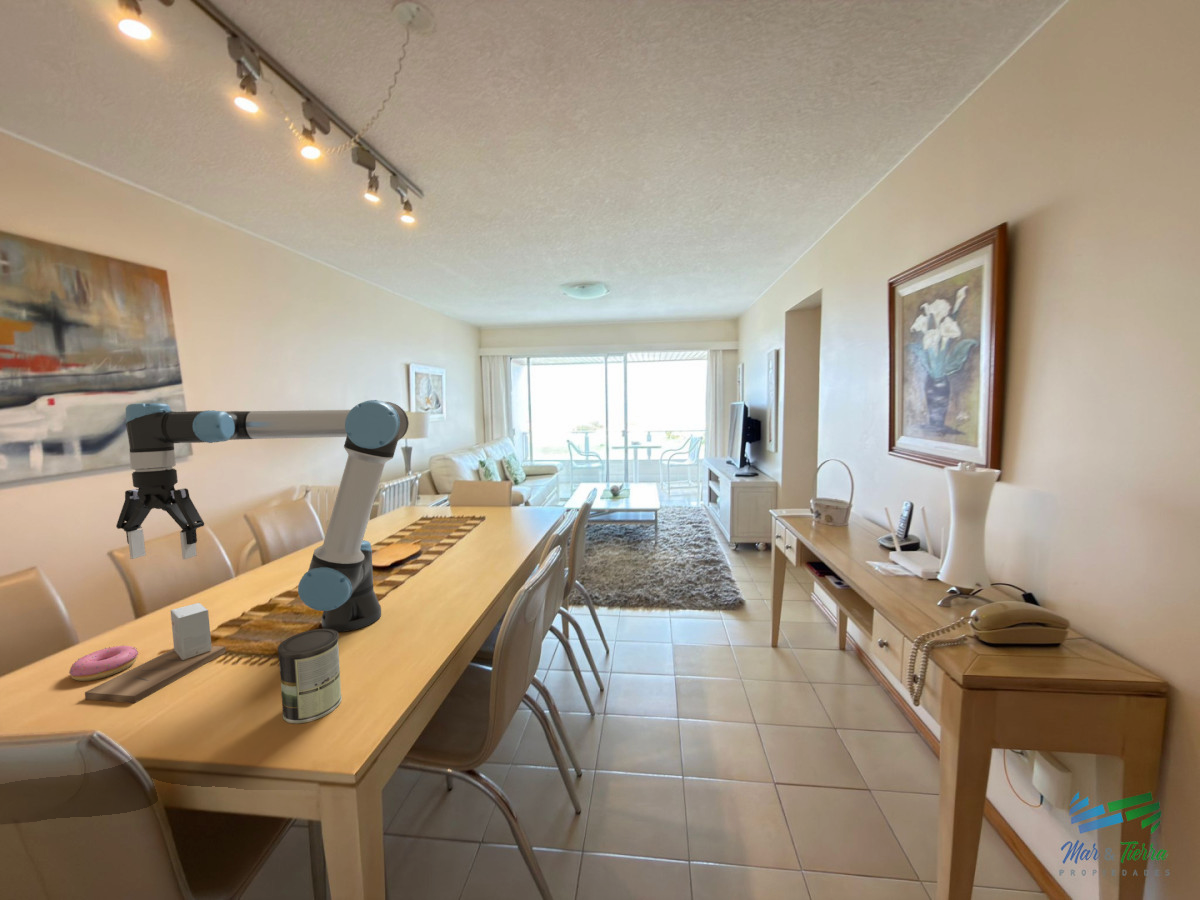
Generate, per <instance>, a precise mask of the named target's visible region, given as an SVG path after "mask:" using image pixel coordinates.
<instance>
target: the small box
mask: <svg viewBox="0 0 1200 900" xmlns="http://www.w3.org/2000/svg"><path fill="white" fill-rule="evenodd" d="M170 619H171V630H172V639H173V640H172V641H173V649H174V651H175V652H176V653H177V654H178V655H179V656H180V658H181V659H182V660H185V659H188V658H191V657H194V656H197V655H200V654H203V653H205V652H208V651H211V650H212V647H211V646H212V637H211V627H210V626H211V625H210V618H209V609H207V608H206V607H205V606H204V605H203V604H201V603H200V602H196V603H193V604H188V605H185V606H181V607H178V608H174V609H171V610H170Z"/></svg>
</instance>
